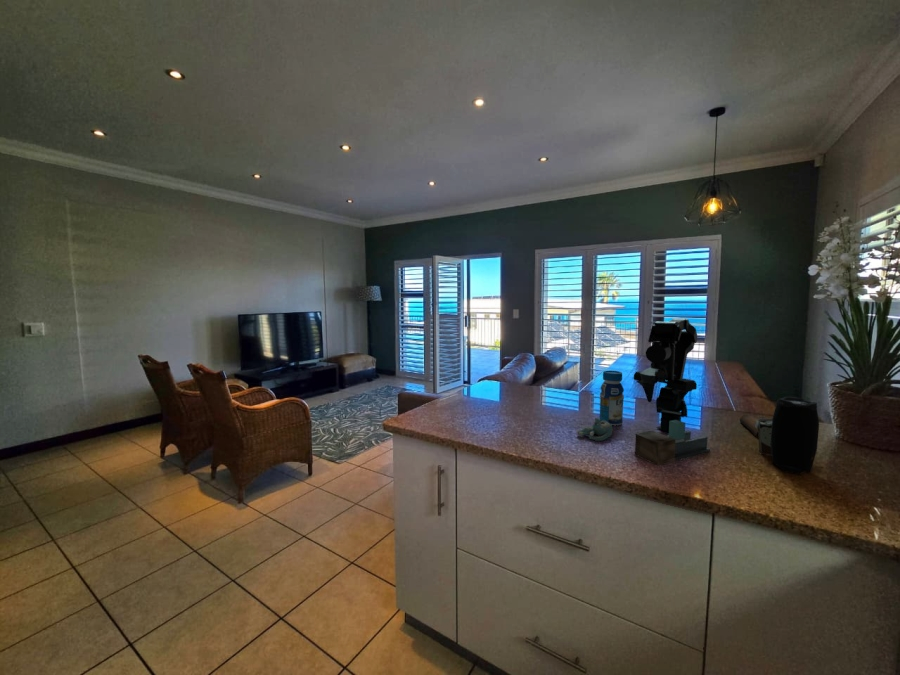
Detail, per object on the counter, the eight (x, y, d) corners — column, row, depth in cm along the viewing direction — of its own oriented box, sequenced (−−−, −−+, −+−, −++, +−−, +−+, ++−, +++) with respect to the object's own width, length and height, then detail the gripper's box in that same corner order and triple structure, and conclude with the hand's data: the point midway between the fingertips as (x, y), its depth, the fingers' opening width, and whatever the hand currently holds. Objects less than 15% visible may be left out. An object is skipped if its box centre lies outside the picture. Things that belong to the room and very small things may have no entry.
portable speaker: (823, 476, 96) (830, 404, 94) (785, 475, 96) (792, 404, 95) (795, 462, 104) (801, 396, 102) (760, 461, 105) (766, 395, 103)
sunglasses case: (788, 442, 119) (776, 423, 120) (764, 449, 122) (753, 431, 123) (766, 425, 135) (756, 409, 136) (746, 432, 138) (736, 416, 139)
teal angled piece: (673, 445, 113) (675, 419, 113) (684, 449, 110) (686, 423, 109) (644, 452, 108) (645, 425, 108) (655, 456, 105) (656, 429, 104)
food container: (793, 451, 112) (796, 419, 111) (805, 459, 106) (808, 426, 105) (745, 446, 116) (748, 416, 115) (754, 453, 110) (757, 422, 109)
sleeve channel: (684, 442, 119) (685, 429, 118) (710, 452, 112) (710, 438, 111) (650, 450, 113) (651, 437, 112) (675, 461, 105) (675, 446, 105)
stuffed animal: (570, 417, 130) (602, 410, 130) (573, 436, 130) (605, 429, 131) (582, 427, 119) (617, 420, 119) (585, 448, 120) (620, 440, 120)
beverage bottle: (601, 417, 145) (603, 369, 144) (624, 421, 140) (626, 371, 139) (596, 423, 139) (598, 372, 137) (620, 427, 134) (622, 374, 132)
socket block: (650, 450, 113) (651, 430, 112) (675, 461, 105) (676, 439, 105) (634, 454, 110) (635, 433, 109) (658, 465, 103) (659, 443, 102)
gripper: (623, 357, 124) (621, 401, 126) (674, 365, 107) (672, 416, 109) (645, 355, 129) (643, 397, 130) (699, 363, 112) (696, 412, 113)
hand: (661, 405), depth 120 cm, fingers open, 9 cm apart
